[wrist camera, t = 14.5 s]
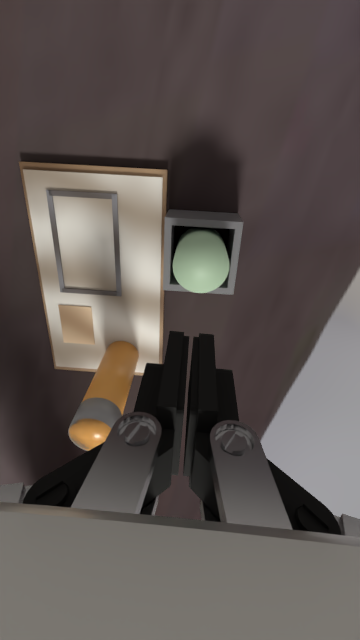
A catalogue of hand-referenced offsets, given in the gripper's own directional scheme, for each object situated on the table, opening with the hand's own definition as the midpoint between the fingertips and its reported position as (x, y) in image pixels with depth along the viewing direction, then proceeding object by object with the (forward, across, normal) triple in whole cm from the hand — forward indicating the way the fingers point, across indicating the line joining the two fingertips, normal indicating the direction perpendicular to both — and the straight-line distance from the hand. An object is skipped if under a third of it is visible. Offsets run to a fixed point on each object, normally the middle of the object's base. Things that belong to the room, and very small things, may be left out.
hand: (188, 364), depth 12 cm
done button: (+14, 0, 0) cm, 14 cm away
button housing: (+16, 0, 0) cm, 16 cm away
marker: (+15, +6, +11) cm, 19 cm away
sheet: (+16, +8, +4) cm, 18 cm away
